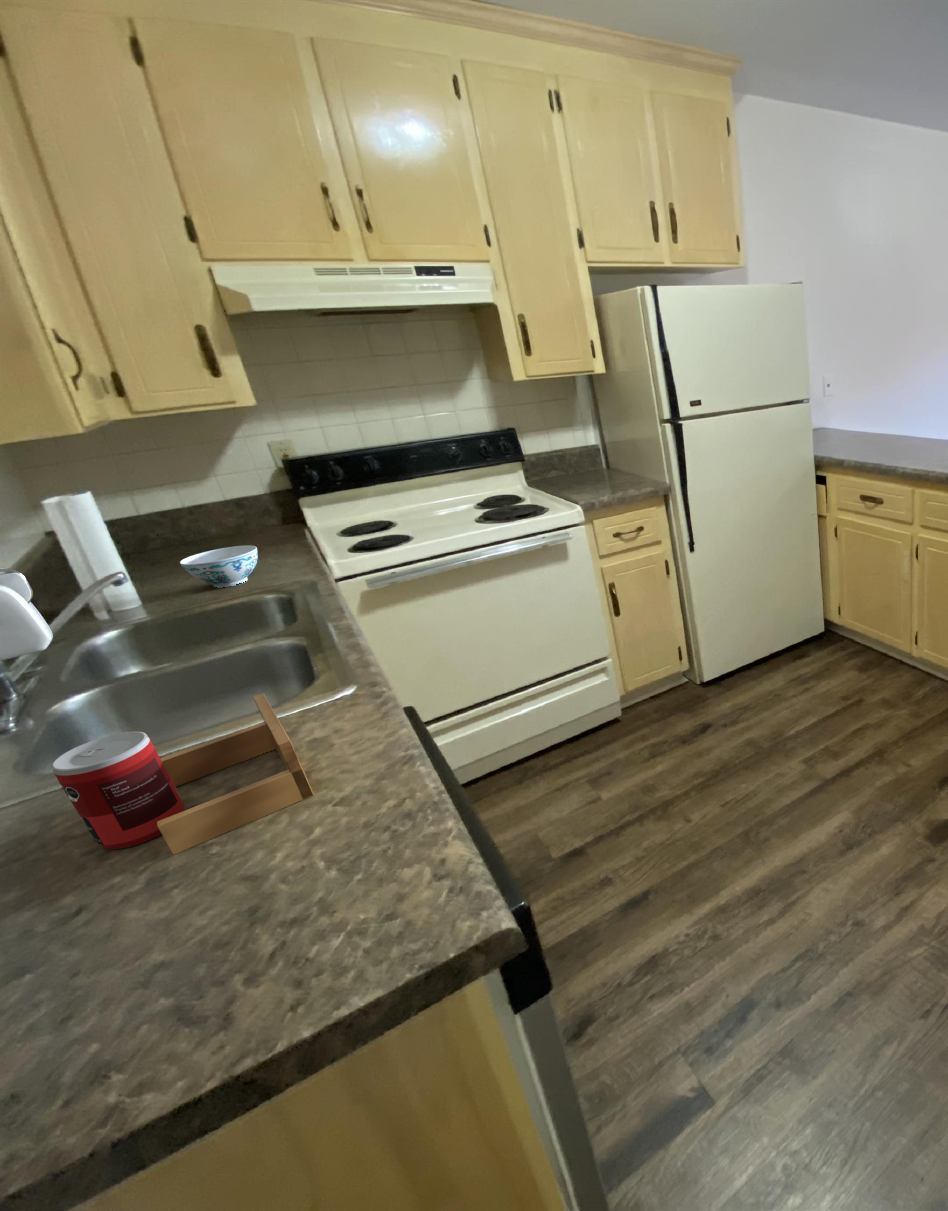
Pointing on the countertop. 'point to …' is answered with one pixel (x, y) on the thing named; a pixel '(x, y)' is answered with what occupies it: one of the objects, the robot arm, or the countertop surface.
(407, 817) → the countertop surface
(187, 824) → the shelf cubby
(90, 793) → the canned food
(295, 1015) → the countertop surface
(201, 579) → the chinaware
